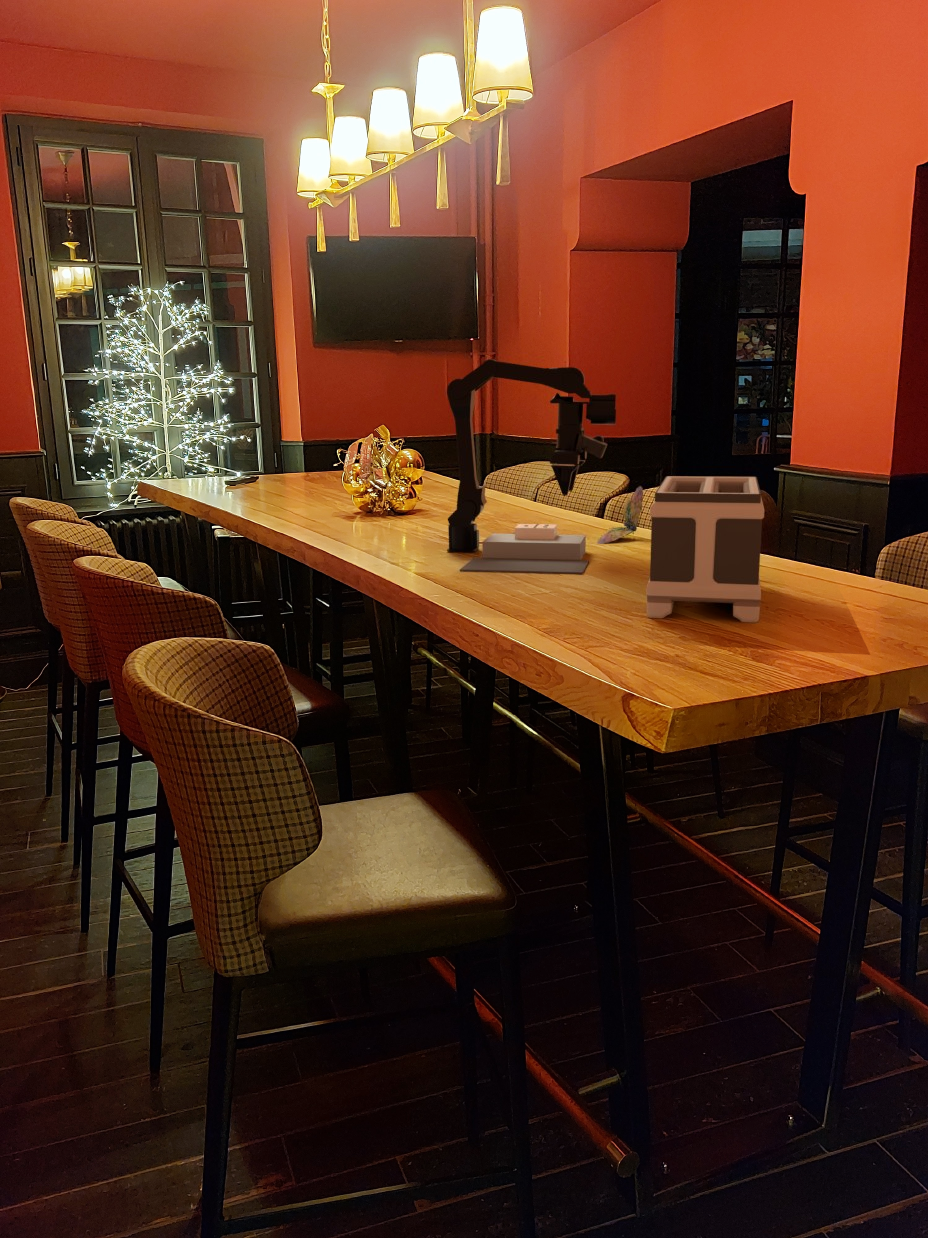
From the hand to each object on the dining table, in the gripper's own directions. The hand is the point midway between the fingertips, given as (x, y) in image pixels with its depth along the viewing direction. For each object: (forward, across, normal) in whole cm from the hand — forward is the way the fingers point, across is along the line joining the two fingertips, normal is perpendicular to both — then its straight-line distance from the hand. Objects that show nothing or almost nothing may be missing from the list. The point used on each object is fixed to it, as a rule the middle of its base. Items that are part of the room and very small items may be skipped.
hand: (567, 492), depth 221 cm
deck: (+14, -7, +6) cm, 17 cm away
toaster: (+13, -46, -31) cm, 58 cm away
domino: (+10, -5, +6) cm, 13 cm away
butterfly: (+14, +18, -10) cm, 25 cm away
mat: (+14, -20, +6) cm, 25 cm away
